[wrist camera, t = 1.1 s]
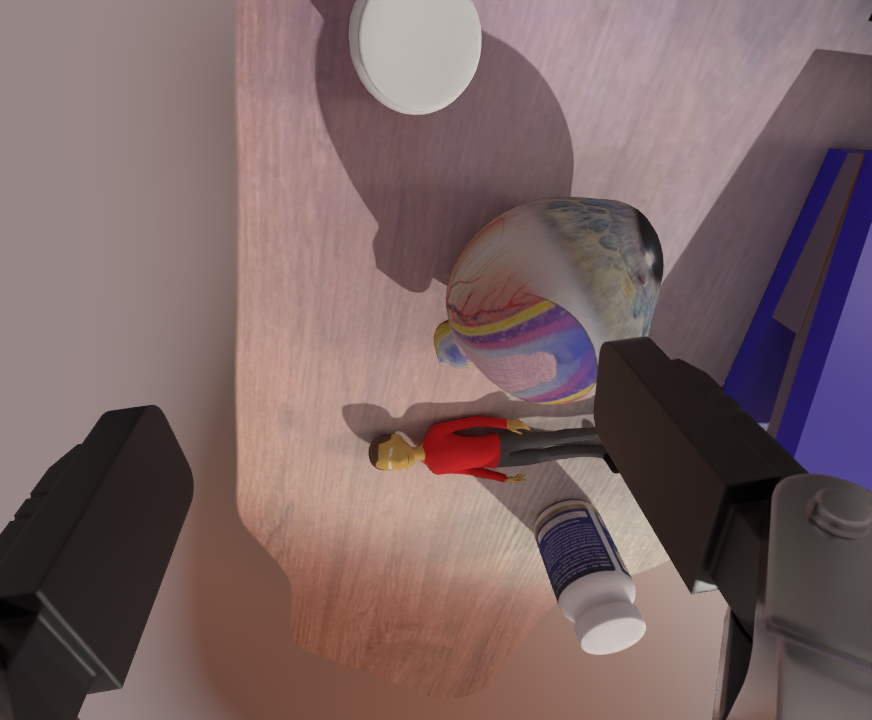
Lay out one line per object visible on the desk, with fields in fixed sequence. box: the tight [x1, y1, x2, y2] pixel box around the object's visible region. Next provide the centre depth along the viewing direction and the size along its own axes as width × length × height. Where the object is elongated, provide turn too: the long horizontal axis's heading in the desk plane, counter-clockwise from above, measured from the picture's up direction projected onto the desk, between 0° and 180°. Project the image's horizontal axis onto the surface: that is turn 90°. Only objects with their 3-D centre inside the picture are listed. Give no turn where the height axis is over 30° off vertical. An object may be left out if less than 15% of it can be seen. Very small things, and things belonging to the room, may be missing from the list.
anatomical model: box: [434, 197, 664, 405], centre depth 26 cm, size 10×12×10 cm
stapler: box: [722, 148, 872, 492], centre depth 32 cm, size 12×28×10 cm, turn 176°
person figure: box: [369, 416, 619, 482], centre depth 35 cm, size 5×4×18 cm
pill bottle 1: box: [348, 0, 482, 115], centre depth 20 cm, size 5×5×8 cm
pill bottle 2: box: [534, 500, 646, 655], centre depth 39 cm, size 6×6×10 cm
